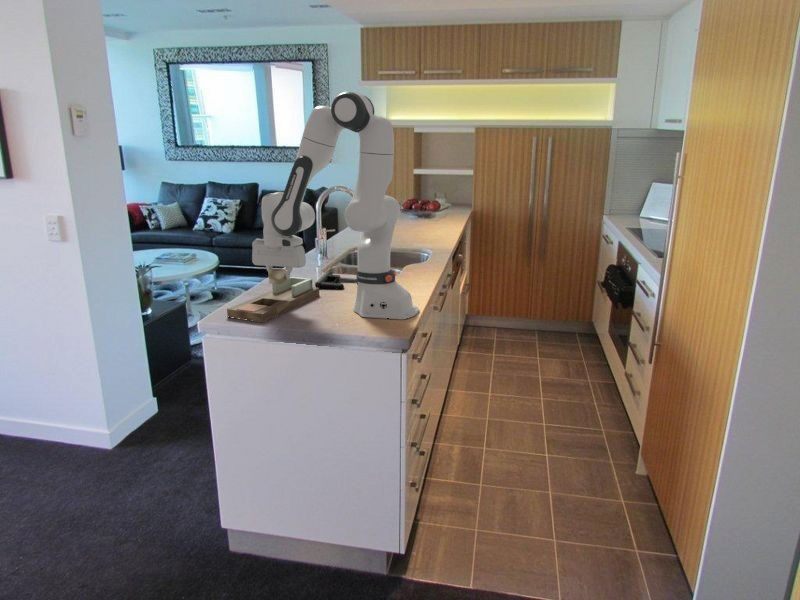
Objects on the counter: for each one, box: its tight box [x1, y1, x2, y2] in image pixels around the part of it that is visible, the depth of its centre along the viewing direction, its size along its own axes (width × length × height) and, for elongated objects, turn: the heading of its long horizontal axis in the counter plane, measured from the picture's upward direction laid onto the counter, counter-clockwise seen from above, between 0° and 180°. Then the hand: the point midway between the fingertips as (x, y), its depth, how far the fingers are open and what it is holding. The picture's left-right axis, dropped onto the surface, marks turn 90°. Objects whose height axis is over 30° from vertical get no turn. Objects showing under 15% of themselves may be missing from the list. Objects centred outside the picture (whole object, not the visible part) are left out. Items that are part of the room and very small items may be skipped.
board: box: [226, 286, 320, 323], centre depth 205 cm, size 14×36×3 cm, turn 158°
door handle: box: [314, 270, 357, 290], centre depth 237 cm, size 3×20×16 cm
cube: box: [267, 267, 287, 284], centre depth 203 cm, size 4×4×4 cm
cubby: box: [271, 276, 314, 296], centre depth 214 cm, size 10×12×4 cm
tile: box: [237, 304, 267, 312], centre depth 192 cm, size 7×7×1 cm
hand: (280, 278), depth 204 cm, fingers closed on cube, 4 cm apart
